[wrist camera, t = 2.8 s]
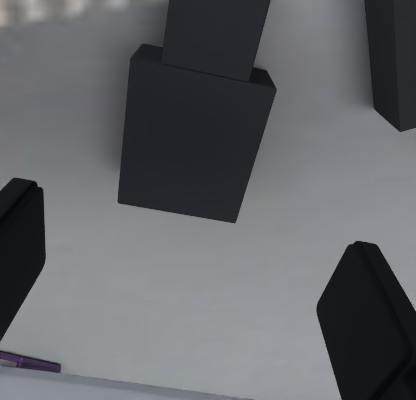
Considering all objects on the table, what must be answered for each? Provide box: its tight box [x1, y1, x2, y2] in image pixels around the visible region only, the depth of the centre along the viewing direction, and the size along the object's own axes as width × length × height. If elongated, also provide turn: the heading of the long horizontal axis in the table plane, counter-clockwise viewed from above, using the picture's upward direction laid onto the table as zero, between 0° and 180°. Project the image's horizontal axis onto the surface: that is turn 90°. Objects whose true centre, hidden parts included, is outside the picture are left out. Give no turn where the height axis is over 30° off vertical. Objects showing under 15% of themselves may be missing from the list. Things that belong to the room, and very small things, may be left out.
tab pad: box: [118, 0, 277, 223], centre depth 17 cm, size 6×10×3 cm, turn 168°
